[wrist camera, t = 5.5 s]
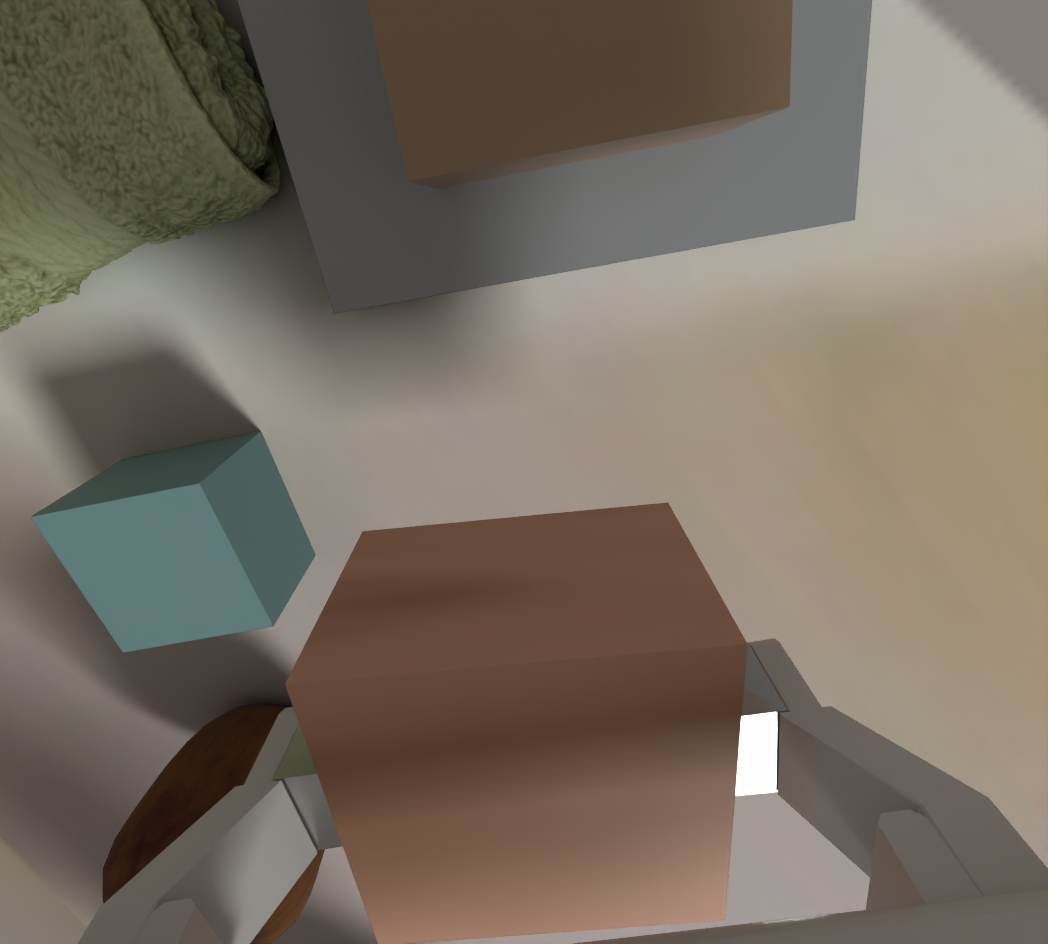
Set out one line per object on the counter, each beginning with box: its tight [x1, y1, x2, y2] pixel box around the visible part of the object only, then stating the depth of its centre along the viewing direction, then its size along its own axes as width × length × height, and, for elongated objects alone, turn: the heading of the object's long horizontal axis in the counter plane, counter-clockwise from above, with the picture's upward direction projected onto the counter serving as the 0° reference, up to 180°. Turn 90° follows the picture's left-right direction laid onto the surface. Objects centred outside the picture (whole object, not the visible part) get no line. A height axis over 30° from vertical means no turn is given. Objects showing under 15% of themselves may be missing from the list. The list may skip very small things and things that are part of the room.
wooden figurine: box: [103, 704, 325, 944], centre depth 17 cm, size 7×6×15 cm
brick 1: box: [31, 431, 315, 653], centre depth 18 cm, size 5×5×4 cm
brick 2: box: [285, 503, 747, 944], centre depth 10 cm, size 6×6×4 cm
